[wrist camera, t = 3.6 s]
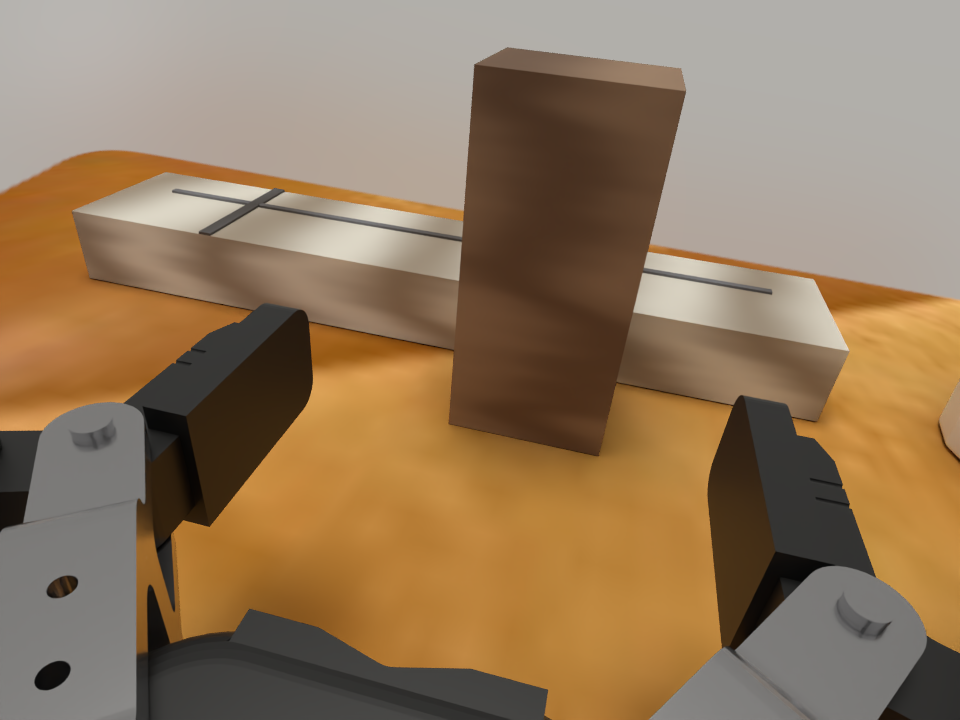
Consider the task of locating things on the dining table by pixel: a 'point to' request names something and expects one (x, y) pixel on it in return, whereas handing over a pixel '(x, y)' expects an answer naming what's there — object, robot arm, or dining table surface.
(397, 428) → the dining table surface
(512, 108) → the upright wooden pillar
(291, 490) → the dining table surface
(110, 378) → the dining table surface
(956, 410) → the white cup
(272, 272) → the batten
